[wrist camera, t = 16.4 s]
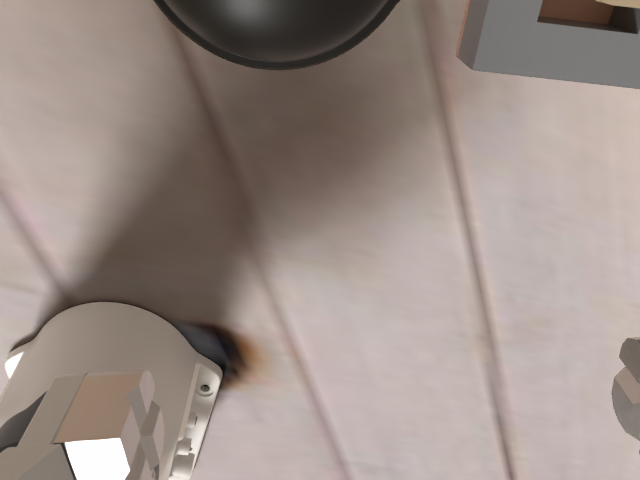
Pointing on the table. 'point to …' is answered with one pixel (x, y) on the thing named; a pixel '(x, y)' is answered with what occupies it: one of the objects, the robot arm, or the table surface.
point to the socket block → (553, 40)
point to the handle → (622, 3)
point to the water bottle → (277, 28)
